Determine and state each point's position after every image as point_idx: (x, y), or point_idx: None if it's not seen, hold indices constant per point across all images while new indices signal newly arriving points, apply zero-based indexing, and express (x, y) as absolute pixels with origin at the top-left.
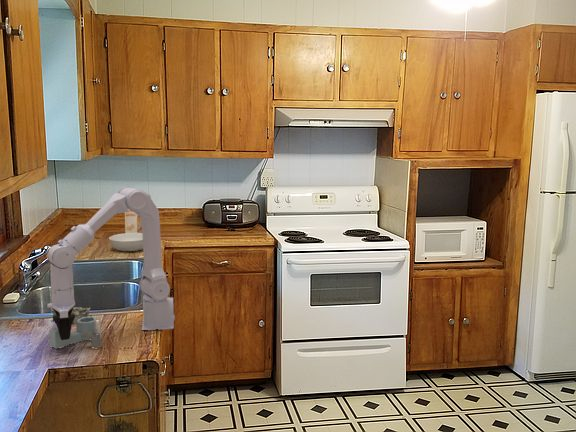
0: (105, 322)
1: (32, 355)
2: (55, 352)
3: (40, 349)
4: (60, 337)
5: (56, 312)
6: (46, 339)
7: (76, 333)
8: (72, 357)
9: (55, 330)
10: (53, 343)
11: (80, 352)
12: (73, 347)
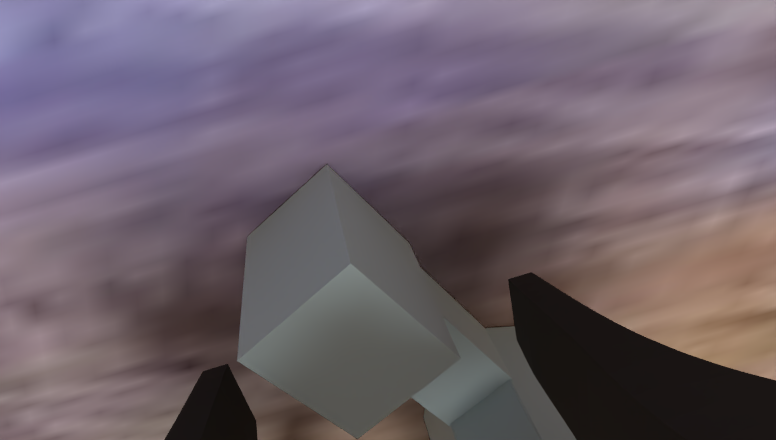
0: None
1: (76, 40)
2: (178, 251)
3: (262, 80)
4: (191, 392)
5: (651, 427)
6: (546, 60)
7: (450, 394)
8: (68, 412)
9: (311, 344)
10: (277, 235)
11: None
12: None
